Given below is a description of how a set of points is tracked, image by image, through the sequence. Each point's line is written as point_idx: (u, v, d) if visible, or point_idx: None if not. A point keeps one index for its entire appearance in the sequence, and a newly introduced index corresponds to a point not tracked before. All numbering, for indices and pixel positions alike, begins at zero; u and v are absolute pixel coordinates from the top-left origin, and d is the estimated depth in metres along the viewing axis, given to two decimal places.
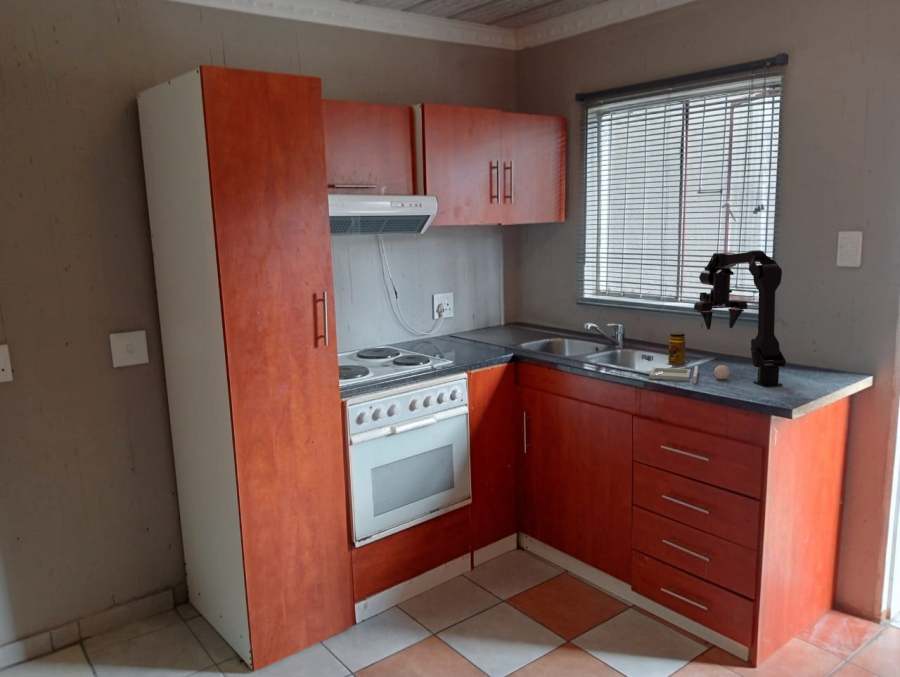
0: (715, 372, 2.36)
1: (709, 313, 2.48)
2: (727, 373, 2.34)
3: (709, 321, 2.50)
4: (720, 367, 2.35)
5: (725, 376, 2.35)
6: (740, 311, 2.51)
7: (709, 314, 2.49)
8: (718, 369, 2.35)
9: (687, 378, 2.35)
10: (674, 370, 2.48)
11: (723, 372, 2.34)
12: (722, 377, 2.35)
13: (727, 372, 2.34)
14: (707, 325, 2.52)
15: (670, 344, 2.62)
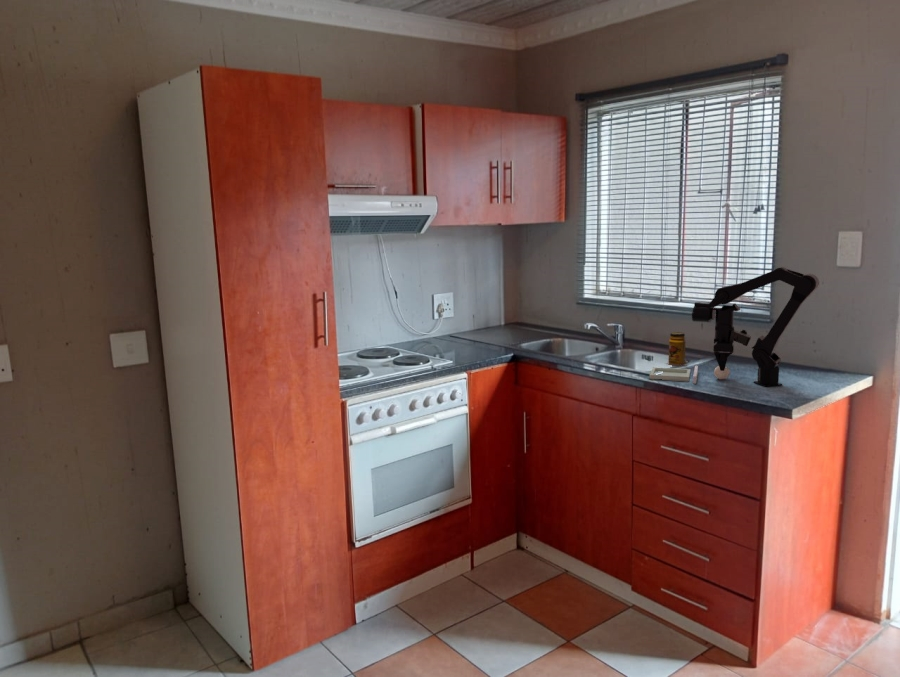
0: (715, 372, 2.36)
1: None
2: (727, 373, 2.34)
3: None
4: None
5: (725, 376, 2.35)
6: (714, 352, 2.31)
7: None
8: (718, 369, 2.35)
9: (687, 378, 2.35)
10: (674, 370, 2.48)
11: (723, 372, 2.34)
12: (722, 377, 2.35)
13: (727, 372, 2.34)
14: None
15: (670, 344, 2.62)
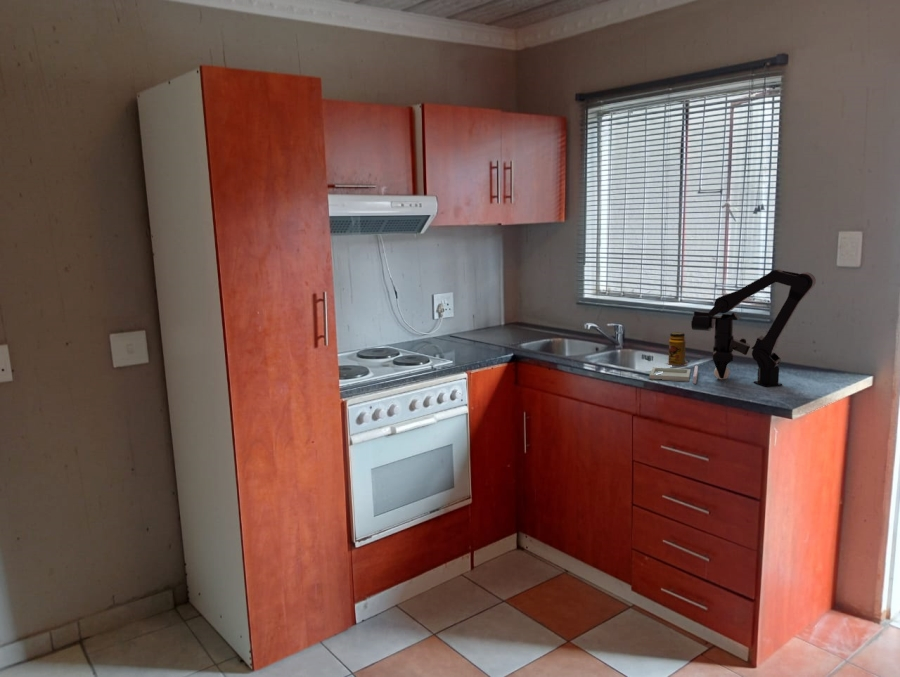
0: (715, 372, 2.36)
1: None
2: (727, 373, 2.34)
3: None
4: None
5: (725, 376, 2.35)
6: (713, 360, 2.33)
7: None
8: None
9: (687, 378, 2.35)
10: (674, 370, 2.48)
11: None
12: None
13: (727, 372, 2.34)
14: None
15: (670, 344, 2.62)
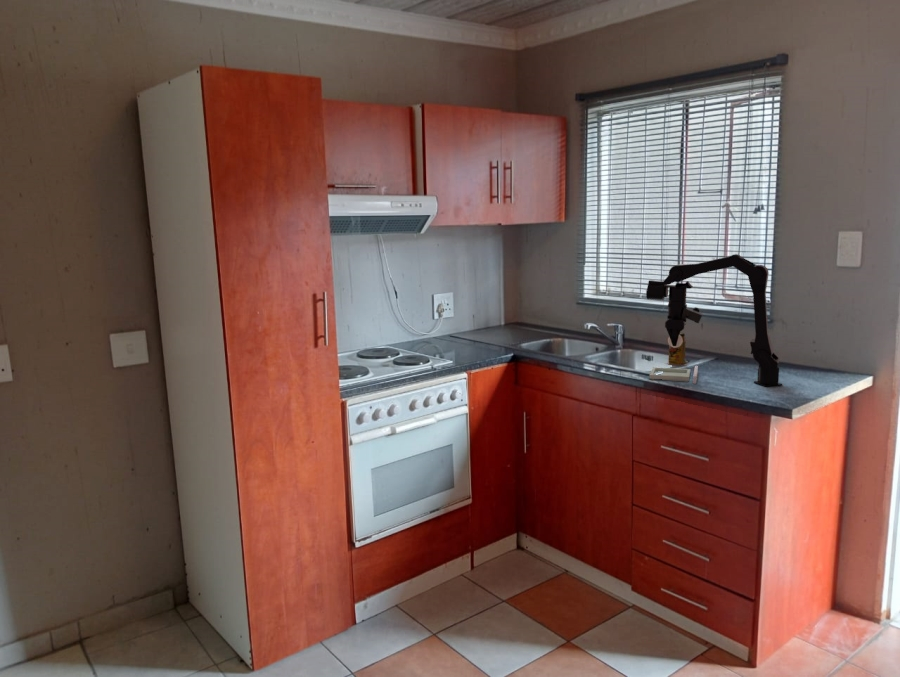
0: (668, 340, 2.40)
1: None
2: (680, 341, 2.38)
3: None
4: None
5: (678, 344, 2.39)
6: (666, 328, 2.37)
7: None
8: None
9: (687, 378, 2.35)
10: (674, 370, 2.48)
11: None
12: None
13: (680, 340, 2.38)
14: None
15: None
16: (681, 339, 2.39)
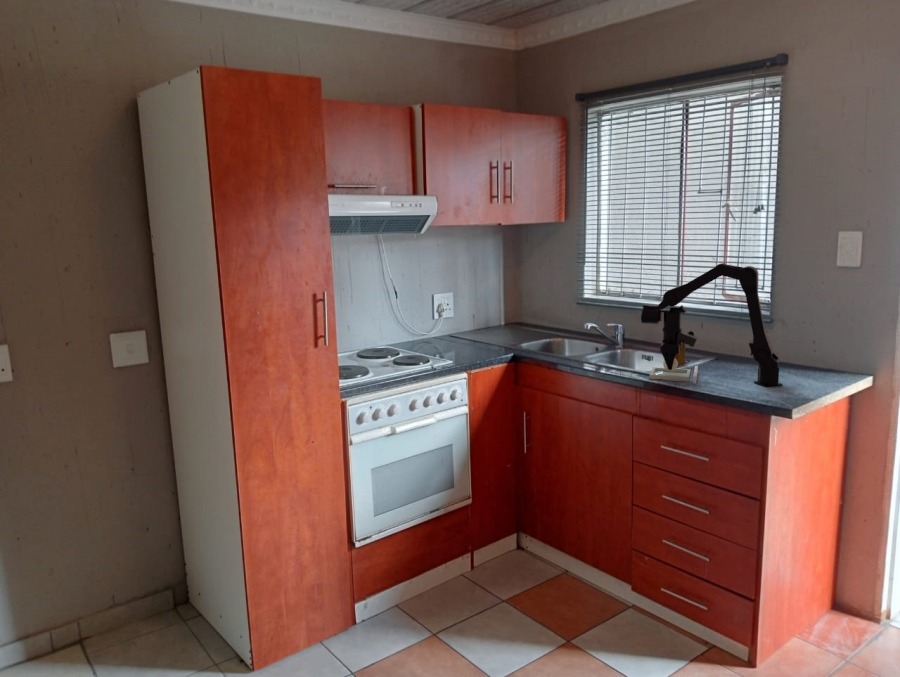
0: (664, 364, 2.42)
1: None
2: (675, 365, 2.40)
3: None
4: None
5: (673, 368, 2.40)
6: (661, 352, 2.39)
7: None
8: None
9: (687, 378, 2.35)
10: (674, 370, 2.48)
11: None
12: None
13: (675, 364, 2.40)
14: None
15: None
16: (676, 363, 2.41)
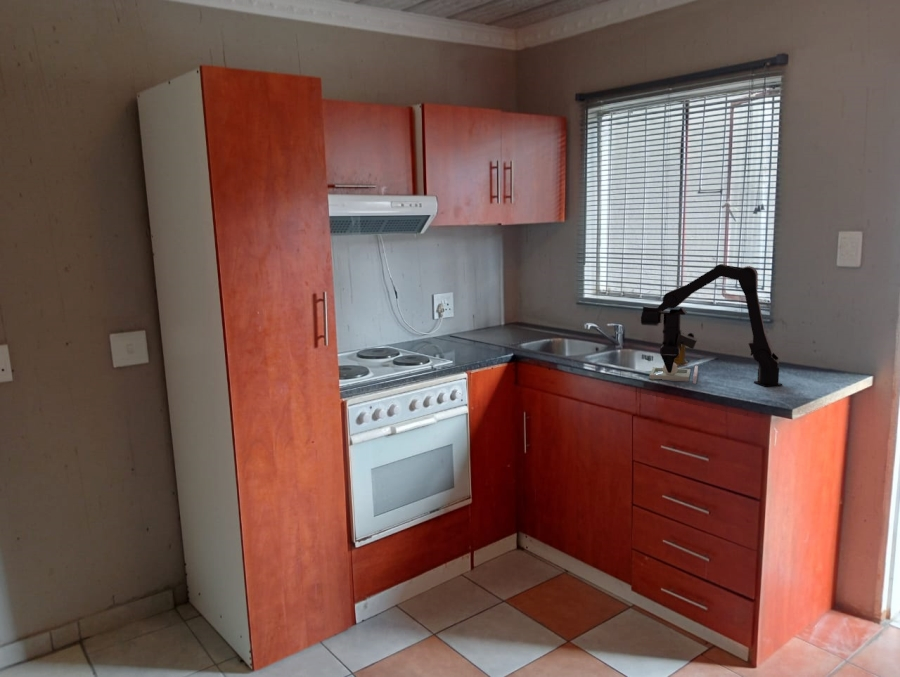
0: (664, 368, 2.42)
1: None
2: (675, 369, 2.41)
3: None
4: None
5: (673, 372, 2.41)
6: None
7: None
8: None
9: (687, 378, 2.35)
10: None
11: None
12: (670, 373, 2.41)
13: (675, 368, 2.41)
14: None
15: None
16: (676, 367, 2.41)
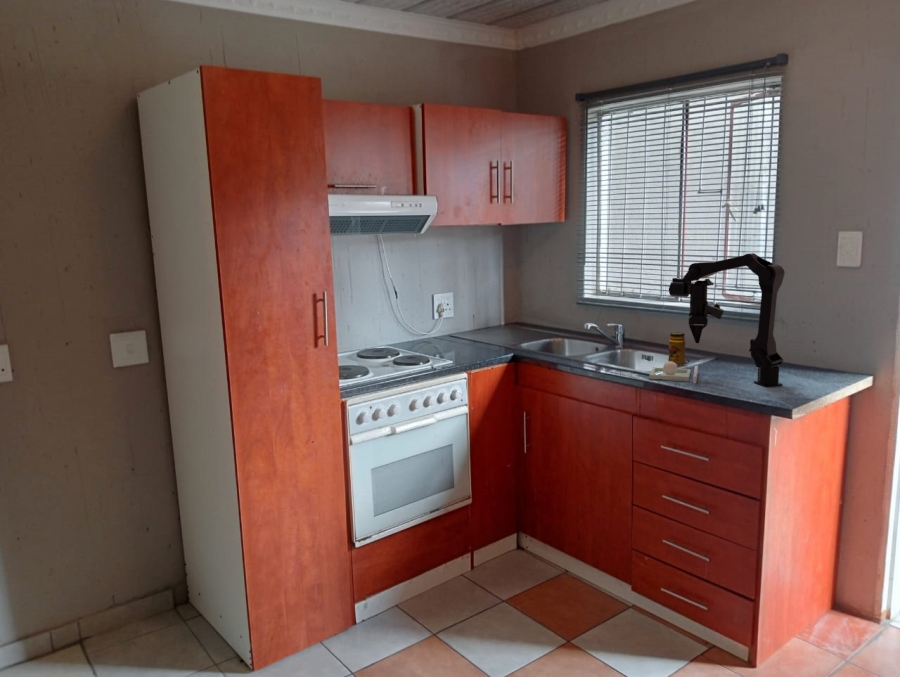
0: (664, 368, 2.42)
1: None
2: (675, 369, 2.41)
3: None
4: (668, 363, 2.41)
5: (673, 372, 2.41)
6: (689, 325, 2.40)
7: None
8: (666, 365, 2.41)
9: (687, 378, 2.35)
10: None
11: (671, 368, 2.40)
12: (670, 373, 2.41)
13: (675, 368, 2.40)
14: None
15: (670, 344, 2.62)
16: (676, 367, 2.41)
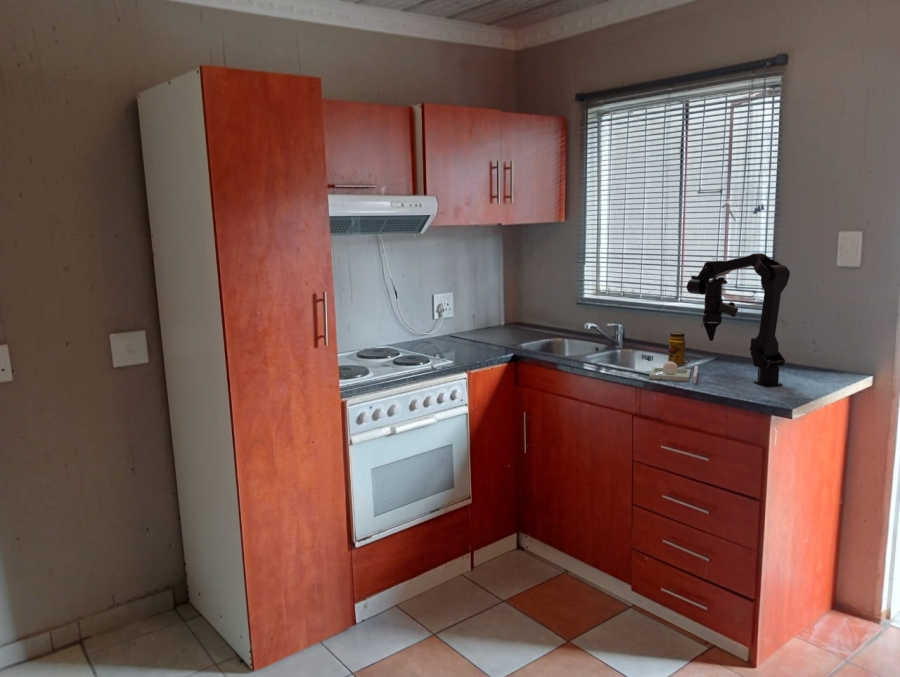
0: (664, 368, 2.42)
1: None
2: (675, 369, 2.40)
3: None
4: (668, 363, 2.41)
5: (673, 372, 2.41)
6: (703, 323, 2.43)
7: None
8: (666, 365, 2.41)
9: (687, 378, 2.35)
10: None
11: (671, 368, 2.40)
12: (670, 373, 2.41)
13: (675, 368, 2.40)
14: None
15: (670, 344, 2.62)
16: (676, 367, 2.41)
